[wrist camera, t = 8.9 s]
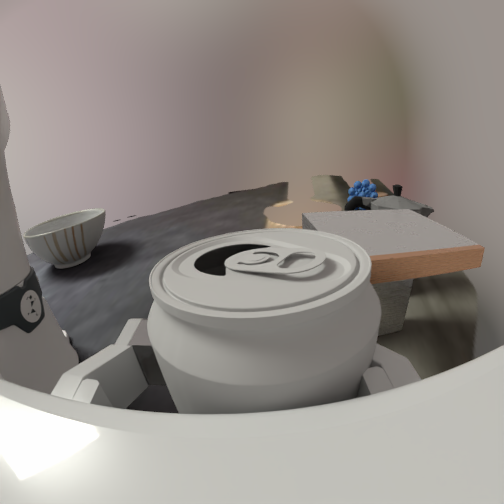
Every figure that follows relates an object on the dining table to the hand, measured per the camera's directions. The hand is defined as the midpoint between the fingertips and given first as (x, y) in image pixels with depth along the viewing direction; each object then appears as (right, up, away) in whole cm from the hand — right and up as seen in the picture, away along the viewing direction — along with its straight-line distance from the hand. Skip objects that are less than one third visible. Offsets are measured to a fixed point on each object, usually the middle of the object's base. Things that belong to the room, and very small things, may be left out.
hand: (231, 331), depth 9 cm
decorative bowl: (-52, 0, +60) cm, 79 cm away
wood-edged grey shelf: (+15, -10, +20) cm, 27 cm away
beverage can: (+2, -9, +2) cm, 9 cm away
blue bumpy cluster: (+42, +18, +88) cm, 99 cm away
